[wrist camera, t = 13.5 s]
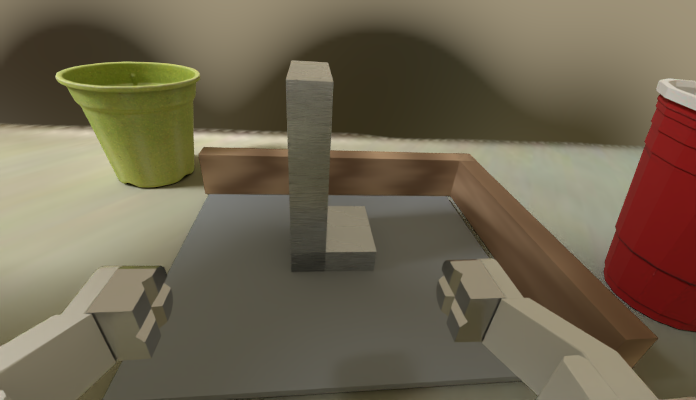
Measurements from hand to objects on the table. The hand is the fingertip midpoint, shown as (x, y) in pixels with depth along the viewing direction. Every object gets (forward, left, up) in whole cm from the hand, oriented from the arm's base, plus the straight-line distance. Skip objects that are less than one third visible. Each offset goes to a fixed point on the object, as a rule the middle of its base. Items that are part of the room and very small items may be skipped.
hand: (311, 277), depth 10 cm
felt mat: (+2, +9, -7) cm, 11 cm away
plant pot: (-14, +21, -7) cm, 26 cm away
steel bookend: (+1, +10, -7) cm, 12 cm away
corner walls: (+2, +9, -7) cm, 12 cm away
